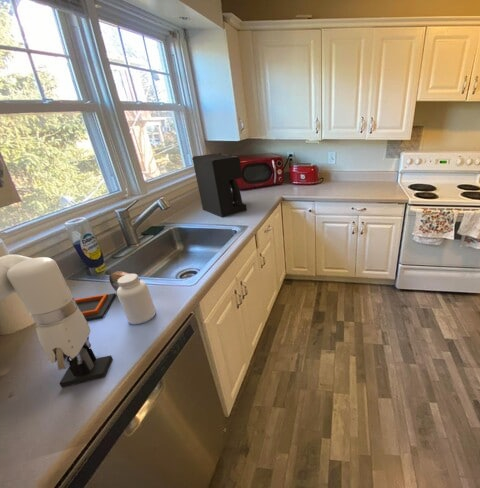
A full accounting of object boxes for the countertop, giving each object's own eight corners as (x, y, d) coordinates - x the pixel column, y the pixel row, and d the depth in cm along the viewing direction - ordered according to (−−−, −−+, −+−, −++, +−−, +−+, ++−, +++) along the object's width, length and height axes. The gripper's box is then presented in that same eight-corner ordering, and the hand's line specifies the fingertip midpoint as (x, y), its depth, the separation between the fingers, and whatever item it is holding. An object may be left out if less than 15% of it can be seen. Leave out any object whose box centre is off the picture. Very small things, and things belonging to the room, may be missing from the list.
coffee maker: (251, 211, 185) (244, 156, 170) (225, 219, 172) (215, 160, 157) (228, 203, 202) (219, 152, 187) (202, 209, 189) (191, 156, 174)
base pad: (42, 329, 86) (39, 323, 85) (63, 304, 97) (60, 299, 96) (103, 317, 91) (100, 312, 90) (116, 295, 102) (114, 290, 101)
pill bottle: (123, 326, 87) (106, 286, 80) (133, 310, 94) (119, 272, 87) (151, 323, 88) (137, 283, 82) (159, 307, 95) (146, 269, 89)
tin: (112, 291, 104) (104, 271, 101) (121, 286, 107) (113, 267, 103) (140, 300, 99) (133, 280, 95) (148, 295, 102) (141, 275, 98)
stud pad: (61, 387, 68) (49, 367, 65) (72, 368, 73) (61, 348, 70) (104, 377, 71) (94, 357, 67) (112, 359, 76) (103, 339, 73)
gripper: (53, 293, 69) (82, 348, 77) (10, 340, 55) (51, 401, 63) (89, 287, 71) (113, 341, 79) (56, 331, 57) (90, 391, 65)
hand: (85, 367), depth 71 cm, fingers closed on stud pad, 3 cm apart
